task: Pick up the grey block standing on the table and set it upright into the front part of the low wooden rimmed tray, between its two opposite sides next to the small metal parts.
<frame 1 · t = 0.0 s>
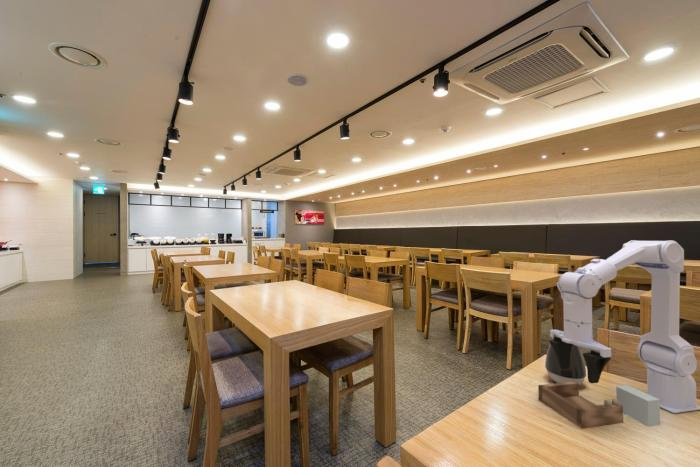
hand: (578, 375, 74), 10 cm above the table, tool pointing down, fingers open, 7 cm apart
wooden rimmed tray: (578, 410, 76), on the table
dark egg-shaped dome: (565, 383, 91), on the table
grey block: (637, 416, 73), on the table
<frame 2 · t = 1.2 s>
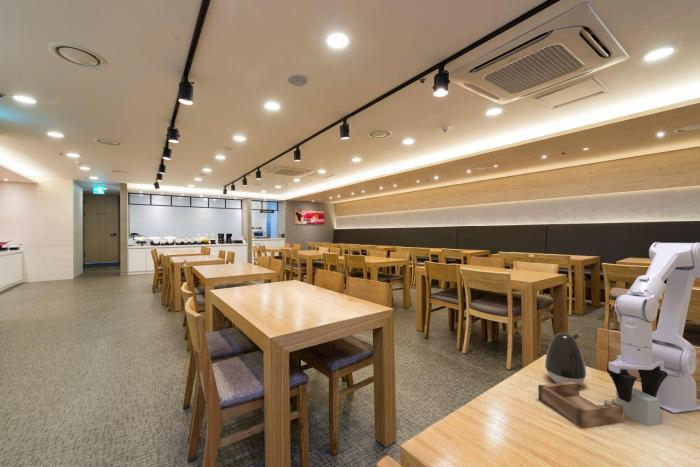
hand: (636, 398, 74), 4 cm above the table, tool pointing down, fingers open, 7 cm apart
nothing on the table moved.
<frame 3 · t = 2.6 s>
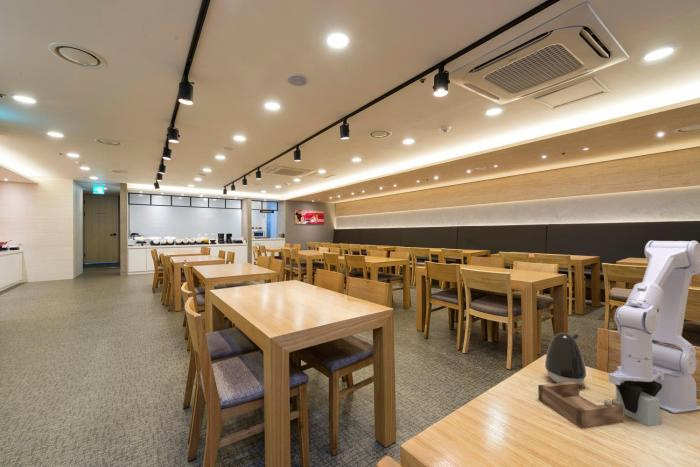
hand: (637, 409, 74), 2 cm above the table, tool pointing down, fingers closed on grey block, 3 cm apart
grey block: (637, 416, 73), on the table, touching gripper
everything else where it was.
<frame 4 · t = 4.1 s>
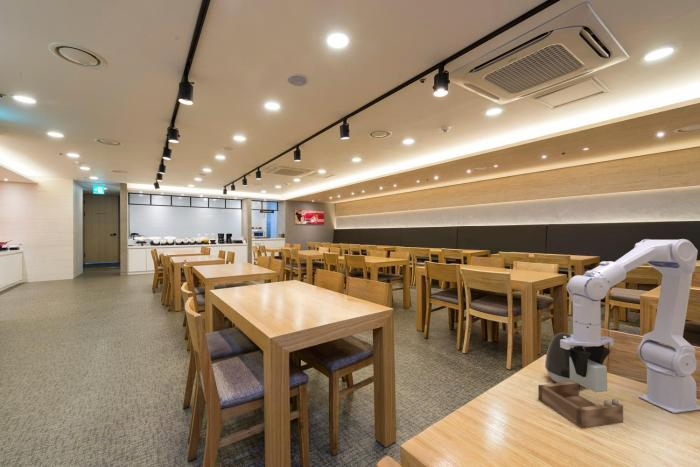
hand: (587, 374, 77), 9 cm above the table, tool pointing down, fingers closed on grey block, 3 cm apart
grey block: (587, 384, 77), point 6 cm above the table, touching gripper
everything else where it was.
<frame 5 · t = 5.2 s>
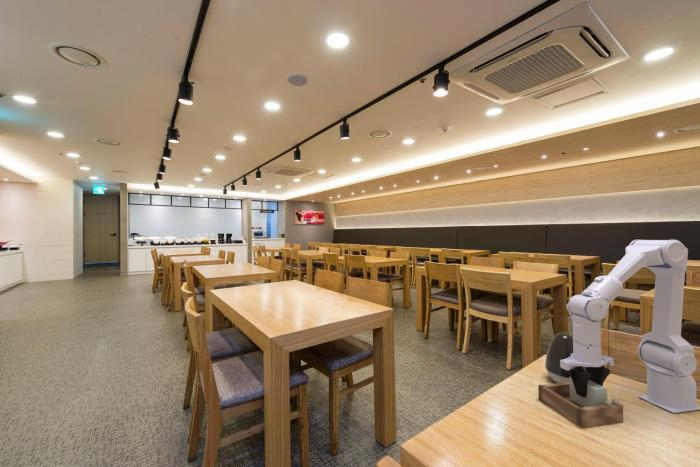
hand: (587, 394, 77), 4 cm above the table, tool pointing down, fingers closed on grey block, 3 cm apart
grey block: (587, 405, 77), point 1 cm above the table, touching gripper
everything else where it was.
when the fingers open (4 cm above the table, at t = 5.8 s): grey block stays where it is, resting on wooden rimmed tray.
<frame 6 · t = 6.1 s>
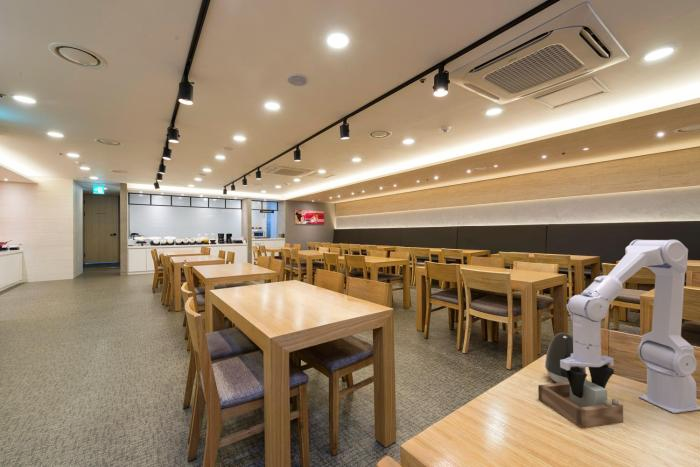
hand: (587, 394, 77), 4 cm above the table, tool pointing down, fingers open, 6 cm apart
grey block: (587, 406, 77), point 1 cm above the table, touching wooden rimmed tray
everything else where it was.
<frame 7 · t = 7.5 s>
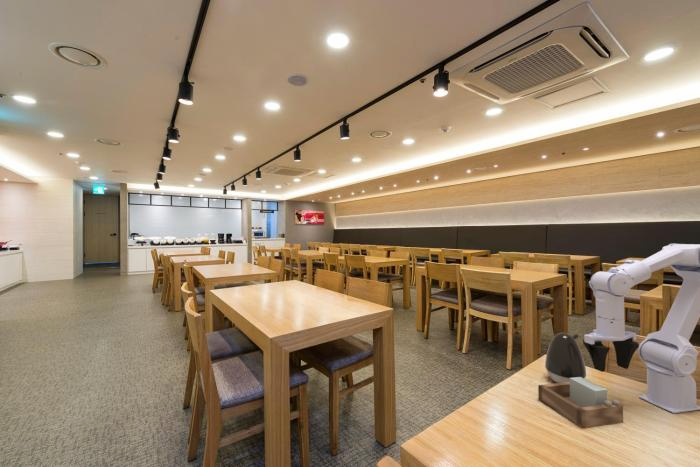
hand: (611, 368, 78), 10 cm above the table, tool pointing down, fingers open, 7 cm apart
nothing on the table moved.
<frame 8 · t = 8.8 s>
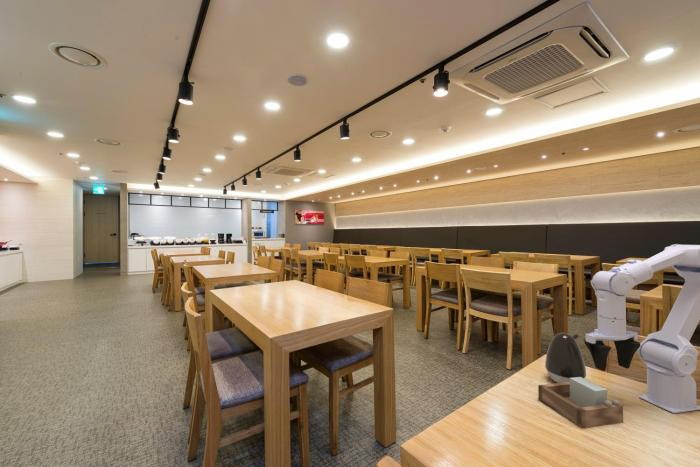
hand: (612, 368, 78), 10 cm above the table, tool pointing down, fingers open, 7 cm apart
nothing on the table moved.
at the end: grey block 0.1 cm from the target spot on the wooden rimmed tray, point 0.6 cm above the wooden rimmed tray's base; grey block tilted 0°; the gripper is holding nothing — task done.
